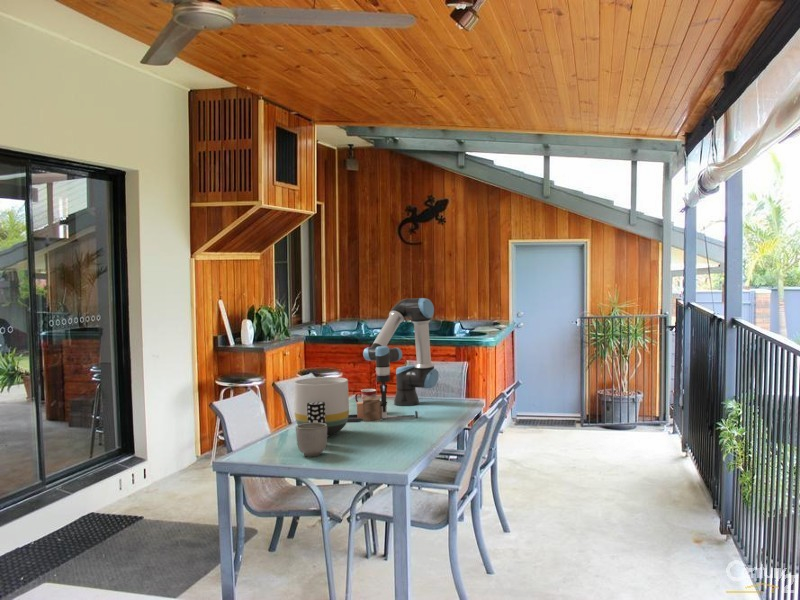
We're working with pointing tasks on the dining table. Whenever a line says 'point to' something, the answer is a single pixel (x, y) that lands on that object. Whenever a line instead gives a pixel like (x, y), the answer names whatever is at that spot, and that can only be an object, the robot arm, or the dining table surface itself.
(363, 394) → the mug
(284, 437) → the dining table surface
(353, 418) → the dark grey tray
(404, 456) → the dining table surface
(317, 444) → the planter
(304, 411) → the planter
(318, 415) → the white-spotted black cylinder
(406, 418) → the pad
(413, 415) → the track
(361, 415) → the block
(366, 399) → the open box
